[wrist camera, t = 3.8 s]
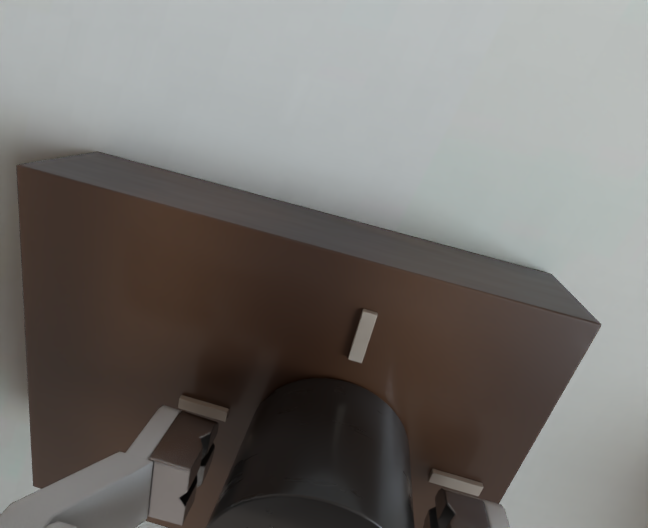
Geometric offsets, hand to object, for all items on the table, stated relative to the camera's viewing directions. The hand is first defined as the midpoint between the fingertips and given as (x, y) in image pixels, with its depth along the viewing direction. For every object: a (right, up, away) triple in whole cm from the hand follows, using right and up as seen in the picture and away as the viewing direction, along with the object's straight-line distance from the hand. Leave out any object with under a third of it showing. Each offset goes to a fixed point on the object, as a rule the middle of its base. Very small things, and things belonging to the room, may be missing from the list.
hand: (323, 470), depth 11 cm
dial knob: (0, 0, +1) cm, 1 cm away
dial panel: (-1, +2, +4) cm, 4 cm away
